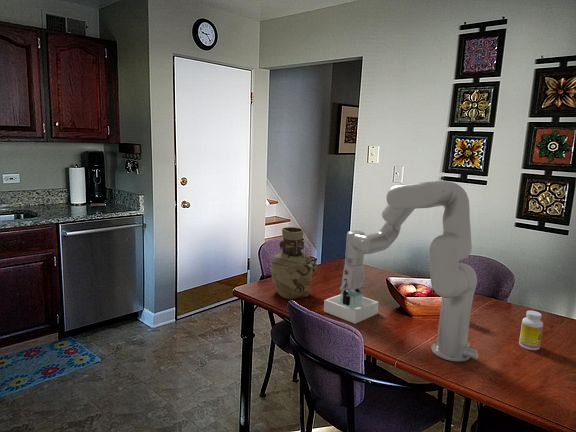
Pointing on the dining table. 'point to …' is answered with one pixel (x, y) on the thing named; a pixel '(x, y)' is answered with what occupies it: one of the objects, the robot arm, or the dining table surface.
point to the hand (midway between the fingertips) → (351, 302)
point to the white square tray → (349, 314)
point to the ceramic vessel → (292, 266)
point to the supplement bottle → (531, 331)
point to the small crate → (353, 299)
